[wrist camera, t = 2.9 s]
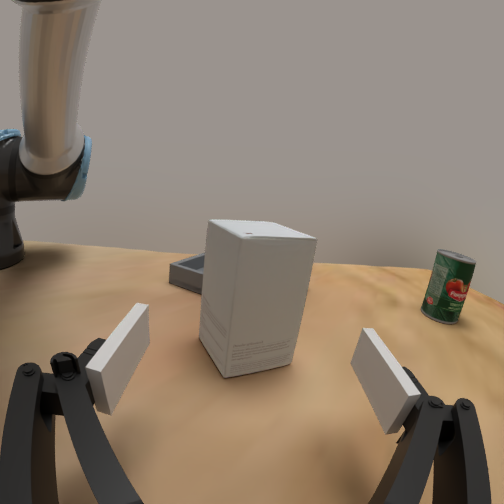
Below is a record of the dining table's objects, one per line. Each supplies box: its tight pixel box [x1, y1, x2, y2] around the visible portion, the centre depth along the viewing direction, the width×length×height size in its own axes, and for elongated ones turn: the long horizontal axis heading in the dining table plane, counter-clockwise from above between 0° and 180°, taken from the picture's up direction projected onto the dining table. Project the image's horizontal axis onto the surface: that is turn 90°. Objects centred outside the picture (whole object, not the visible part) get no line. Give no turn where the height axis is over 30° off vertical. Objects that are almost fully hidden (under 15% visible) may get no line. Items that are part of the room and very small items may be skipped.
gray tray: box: [169, 253, 205, 294], centre depth 44 cm, size 18×14×3 cm
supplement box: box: [199, 220, 317, 378], centre depth 26 cm, size 7×7×13 cm
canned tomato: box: [421, 249, 476, 324], centre depth 40 cm, size 8×8×11 cm
